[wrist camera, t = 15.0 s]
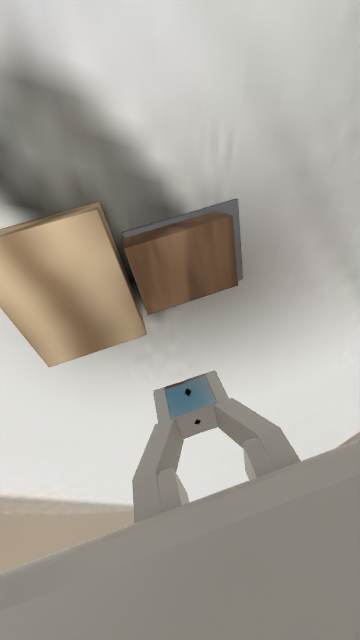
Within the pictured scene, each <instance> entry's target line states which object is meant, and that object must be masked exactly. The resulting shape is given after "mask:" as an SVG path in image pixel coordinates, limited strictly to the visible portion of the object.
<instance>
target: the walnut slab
mask: <svg viewBox="0 0 360 640" xmlns="http://www.w3.org/2000/svg"><path fill="white" fill-rule="evenodd" d="M122 242H123V248H124V251H125V254H126V257H127V259H128V262H129V265H130V268H131V270H132V273H133V276H134V278H135V281H136V284H137V287H138V289H139V292H140V295H141V298H142V300H143V303H144V306H145V309H146V311H147V314H148V315H149V314H152V313H155V312H158V311H161V310H164V309H168V308H171V307H174V306H177V305H180V304H183V303H186V302H189V301H192V300H195V299H198V298H201V297H204V296H207V295H210V294H213V293H216V292H219V291H222V290H225V289H228V288H231V287H235V286H238V277H237V264H236V250H235V237H234V223H233V216H231V215H229V214H226V213H223V212H221V211H218V210H217V211H214V212H211V213H207V214H204V215H200V216H197V217H194V218H190V219H187V220H184V221H180V222H177V223H173V224H170V225H167V226H163V227H160V228H157V229H153V230H150V231H146V232H143V233H140V234H136V235H133V236H130V237H126V238H123V239H122Z"/></svg>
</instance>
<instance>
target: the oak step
mask: <svg viewBox="0 0 360 640" xmlns="http://www.w3.org/2000/svg"><path fill="white" fill-rule="evenodd" d="M0 308H1V309H2V310H3V311H4V312H5V314H6V315H7V316H8V317H9V319H10V320H11V321H12V322H13V324H14V325H15V326H16V327H17V328H18V330H19V331H20V332H21V333H22V335H23V336H24V337H25V338H26V340H27V341H28V342H29V343H30V345H31V346H32V347H33V348H34V349H35V351H36V352H37V353H38V354H39V356H40V357H41V358H42V359H43V361H44V362H45V363H46V364H47V365H48V367H52V366H55V365H58V364H61V363H64V362H67V361H70V360H73V359H76V358H79V357H82V356H85V355H88V354H91V353H94V352H97V351H100V350H103V349H106V348H109V347H112V346H115V345H118V344H120V343H123V342H126V341H129V340H132V339H135V338H138V337H141V336H144V335H146V330H145V326H144V322H143V317H142V313H141V309H140V307H139V304H138V301H137V299H136V296H135V294H134V291H133V288H132V286H131V283H130V280H129V278H128V275H127V273H126V270H125V267H124V265H123V262H122V259H121V257H120V254H119V252H118V249H117V246H116V244H115V241H114V239H113V236H112V233H111V231H110V228H109V225H108V223H107V220H106V218H105V215H104V212H103V210H102V207H101V205H100V202H96V203H93V204H89V205H85V206H82V207H78V208H75V209H71V210H68V211H64V212H60V213H57V214H53V215H50V216H46V217H42V218H39V219H35V220H32V221H28V222H25V223H21V224H17V225H14V226H10V227H7V228H3V229H0Z"/></svg>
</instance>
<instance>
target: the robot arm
mask: <svg viewBox="0 0 360 640" xmlns="http://www.w3.org/2000/svg"><path fill="white" fill-rule="evenodd" d="M154 400H155V406H156V412H157V418H158V424H155V426H154V429H153V431H152V434H151V436H150V438H149V441H148V443H147V446H146V448H145V451H144V453H143V456H142V458H141V460H140V463H139V465H138V468H137V470H136V473H135V475H134V478H133V480H132V482H133V502H134V522H135V523H133V524H130V525H128V526H125V527H122V528H120V529H117V530H114V531H112V532H109V533H106V534H104V535H101V536H98V537H96V538H93V539H90V540H87V541H85V542H82V543H79V544H77V545H74V546H71V547H69V548H66V549H63V550H61V551H58V552H55V553H52V554H50V555H47V556H44V557H42V558H39V559H36V560H33V561H31V562H28V563H25V564H23V565H20V566H18V567H15V568H12V569H9V570H6V571H4V572H1V573H0V640H360V440H357V441H354V442H352V443H349V444H347V445H344V446H341V447H338V448H335V449H333V450H330V451H327V452H325V453H322V454H319V455H317V456H314V457H311V458H309V459H306V460H303V461H300V459H299V457H298V456H297V454H296V453H295V451H294V449H293V448H292V446H291V445H290V443H289V441H288V440H287V438H286V437H285V435H284V433H283V432H282V430H281V429H280V427H278V426H276V425H275V424H273V423H272V422H270V421H268V420H267V419H265V418H264V417H262V416H260V415H259V414H257V413H256V412H254V411H252V410H251V409H249V408H248V407H246V406H244V405H243V404H241V403H240V402H238V401H236V400H235V399H233V398H230V399H229V398H228V396H227V394H226V392H225V389H224V387H223V385H222V383H221V381H220V379H219V377H218V375H217V373H216V372H215V371H211V372H208V373H205V374H202V375H199V376H196V377H193V378H190V379H187V380H184V381H183V382H179V383H176V384H173V385H170V386H166V387H163V388H160V389H157V390H154ZM216 427H219V428H220V429H221V430H222V431H223V432H224V433H226V434H227V435H228V436H229V437H230V438H231V439H233V440H234V441H235V442H236V443H237V444H239V445H240V446H241V447H242V448H243V449H244V460H245V471H246V473H247V476H248V478H249V481H246V482H244V483H241V484H238V485H236V486H233V487H230V488H228V489H225V490H222V491H219V492H217V493H214V494H211V495H209V496H206V497H203V498H201V499H198V500H195V501H192V502H190V503H189V500H188V495H187V492H186V490H185V488H184V487H183V485H182V483H181V481H180V479H179V478H178V476H177V474H176V470H177V466H178V462H179V458H180V454H181V449H182V445H183V441H184V440H183V439H185V438H188V437H190V436H193V435H195V434H198V433H201V432H204V431H207V430H210V429H213V428H216Z"/></svg>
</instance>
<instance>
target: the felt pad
mask: <svg viewBox="0 0 360 640" xmlns="http://www.w3.org/2000/svg"><path fill="white" fill-rule="evenodd" d="M217 210H218V211H221V212H223V213H226V214H229V215H231V216H233V223H234V237H235V250H236V264H237V277H238V280H241V279H243V275H242V259H241V242H240V225H239V209H238V199H234V200H230V201H227V202H223V203H220V204H217V205H213V206H210V207H206V208H203V209H200V210H196V211H193V212H189V213H186V214H183V215H179V216H176V217H172V218H169V219H166V220H162V221H159V222H155V223H152V224H149V225H145V226H142V227H138V228H135V229H132V230H128V231H125V232H122V234H123V236H124V238H126V237H130V236H133V235H136V234H140V233H143V232H146V231H150V230H153V229H157V228H160V227H163V226H167V225H170V224H173V223H177V222H180V221H184V220H187V219H190V218H194V217H197V216H200V215H204V214H207V213H211V212H214V211H217Z"/></svg>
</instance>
